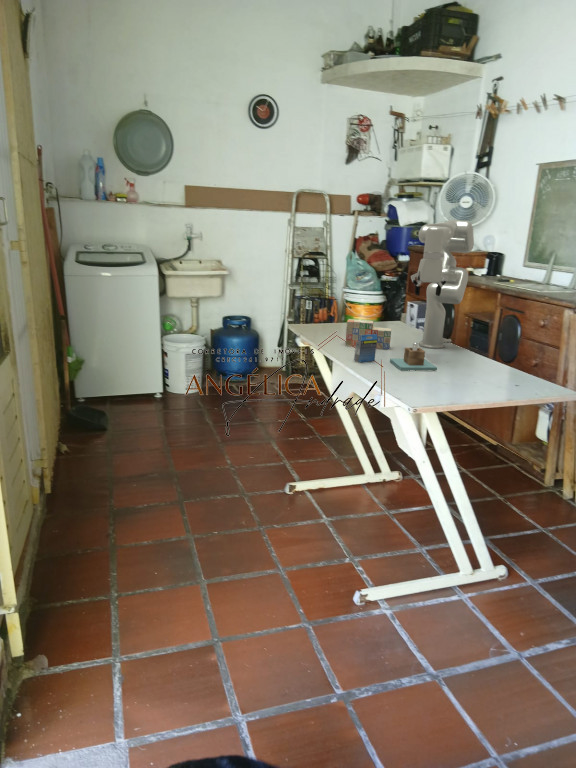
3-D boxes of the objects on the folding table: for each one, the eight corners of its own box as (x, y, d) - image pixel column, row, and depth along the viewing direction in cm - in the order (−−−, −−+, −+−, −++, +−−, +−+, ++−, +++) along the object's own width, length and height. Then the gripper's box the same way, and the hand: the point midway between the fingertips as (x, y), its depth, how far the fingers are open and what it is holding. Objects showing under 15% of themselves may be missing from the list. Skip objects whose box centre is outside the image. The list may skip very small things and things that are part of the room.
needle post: (414, 362, 240) (416, 342, 237) (416, 363, 238) (418, 343, 235) (410, 362, 240) (412, 342, 237) (411, 363, 238) (414, 343, 235)
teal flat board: (424, 361, 247) (424, 358, 247) (436, 370, 234) (437, 367, 234) (389, 361, 245) (390, 358, 244) (400, 370, 231) (401, 367, 231)
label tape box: (369, 358, 249) (372, 331, 245) (375, 361, 245) (377, 333, 241) (353, 360, 244) (356, 333, 241) (359, 362, 241) (361, 335, 237)
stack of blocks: (389, 347, 272) (392, 322, 268) (389, 350, 266) (391, 324, 263) (346, 342, 276) (348, 318, 273) (345, 345, 271) (347, 320, 267)
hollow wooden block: (417, 360, 242) (419, 347, 241) (423, 365, 236) (425, 351, 234) (403, 360, 242) (404, 347, 240) (408, 365, 235) (410, 351, 234)
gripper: (447, 256, 248) (442, 294, 253) (410, 254, 245) (406, 293, 250) (454, 257, 241) (449, 297, 246) (416, 256, 238) (412, 296, 243)
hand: (427, 295), depth 248 cm, fingers open, 9 cm apart
